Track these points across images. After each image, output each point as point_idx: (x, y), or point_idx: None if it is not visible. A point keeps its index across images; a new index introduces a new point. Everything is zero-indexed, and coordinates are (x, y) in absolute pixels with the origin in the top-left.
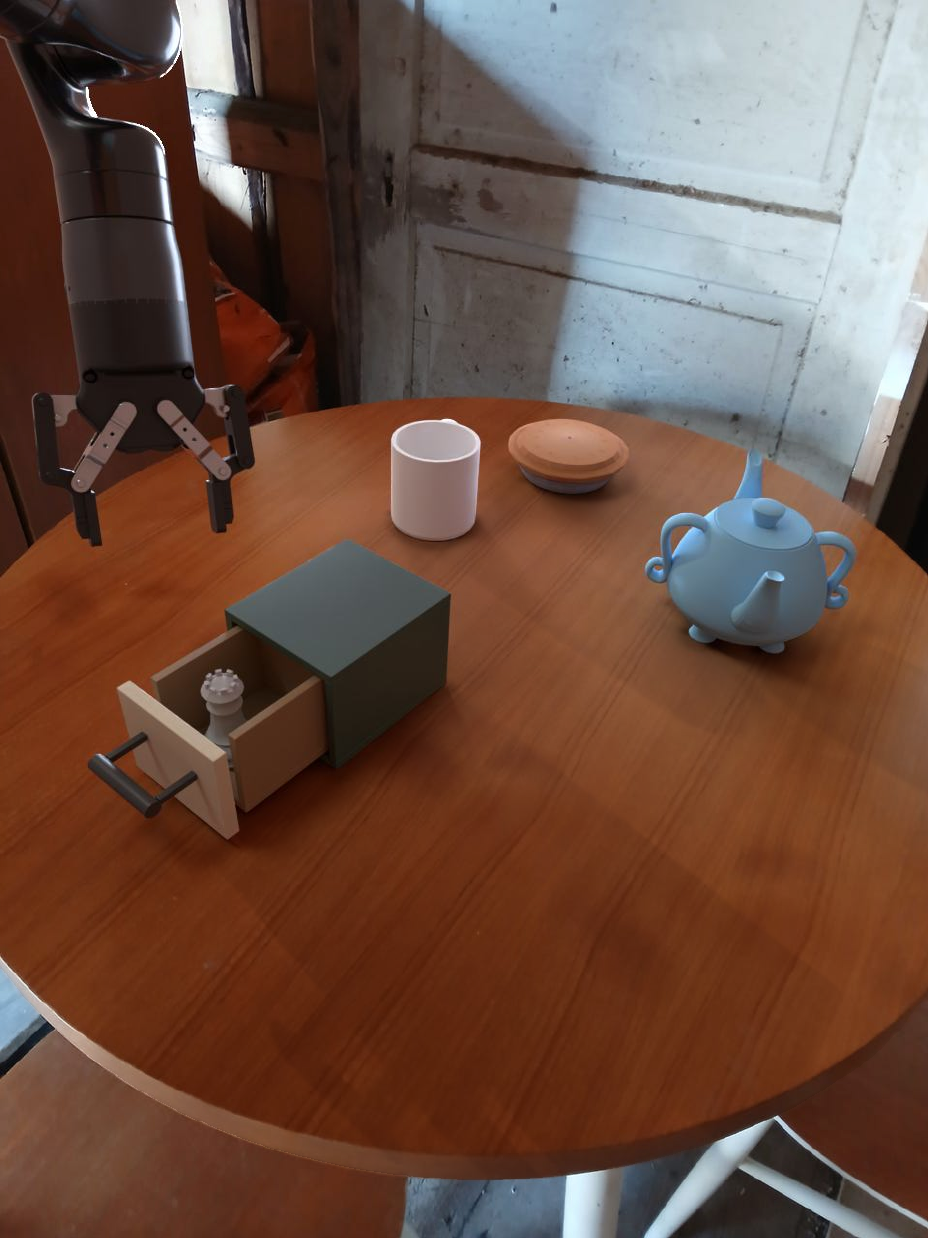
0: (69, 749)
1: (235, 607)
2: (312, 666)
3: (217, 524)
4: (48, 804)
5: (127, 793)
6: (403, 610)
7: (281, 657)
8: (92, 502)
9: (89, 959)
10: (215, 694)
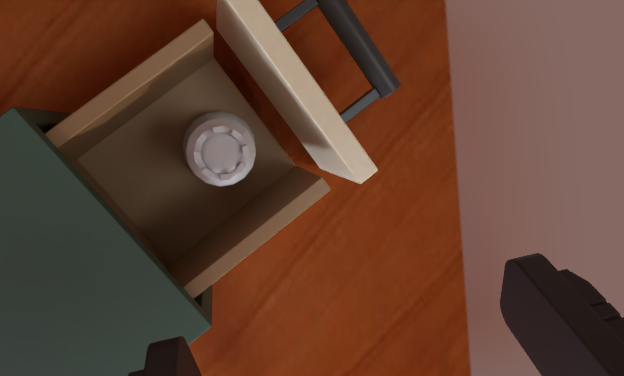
0: (403, 209)
1: (191, 329)
2: (50, 146)
3: (174, 352)
4: (419, 131)
5: (352, 13)
6: None
7: None
8: (608, 355)
9: None
10: (231, 129)
